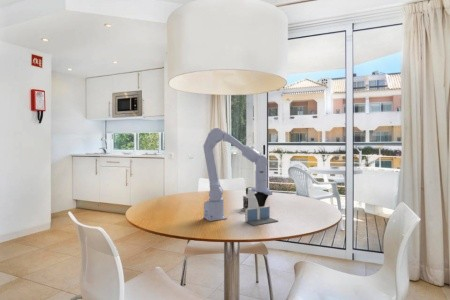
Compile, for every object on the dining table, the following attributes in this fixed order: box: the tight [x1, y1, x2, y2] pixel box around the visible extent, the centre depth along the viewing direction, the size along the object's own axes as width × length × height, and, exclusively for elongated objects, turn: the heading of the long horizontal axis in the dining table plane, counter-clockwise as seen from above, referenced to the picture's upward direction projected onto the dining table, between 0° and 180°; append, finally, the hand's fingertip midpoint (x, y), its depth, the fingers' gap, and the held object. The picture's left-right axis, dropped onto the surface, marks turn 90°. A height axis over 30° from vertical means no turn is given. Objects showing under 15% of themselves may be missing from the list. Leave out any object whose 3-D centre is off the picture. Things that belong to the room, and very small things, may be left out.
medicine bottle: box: [242, 186, 259, 210], centre depth 160 cm, size 7×7×12 cm
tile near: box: [244, 207, 258, 223], centre depth 135 cm, size 6×2×6 cm, turn 119°
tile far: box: [258, 205, 271, 220], centre depth 138 cm, size 6×2×6 cm, turn 119°
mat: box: [245, 217, 279, 227], centre depth 132 cm, size 14×6×1 cm, turn 119°
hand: (261, 207), depth 139 cm, fingers closed
